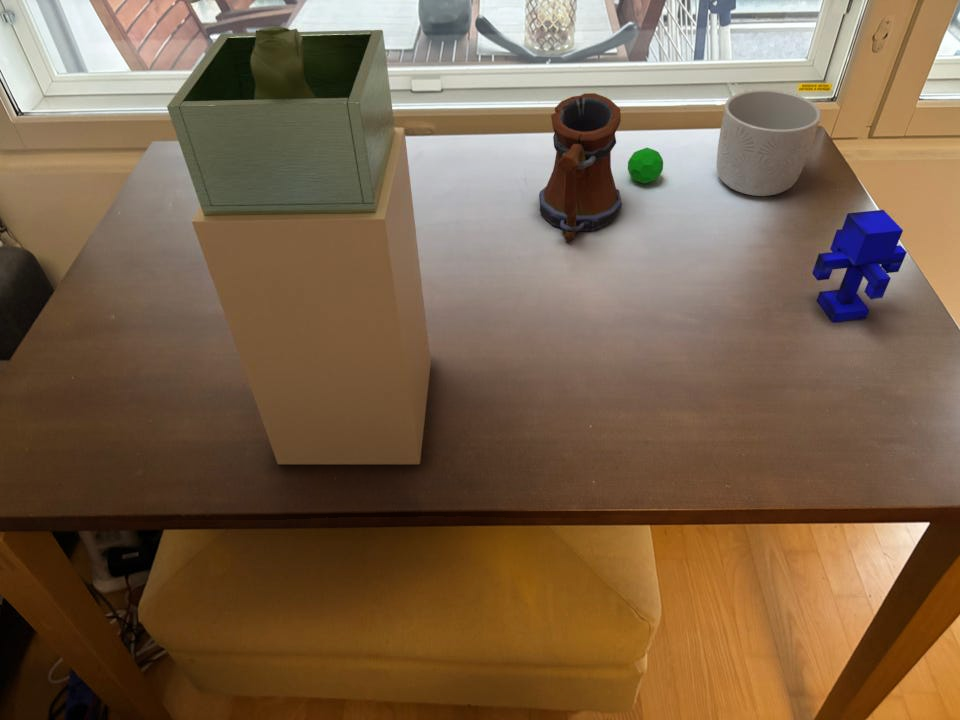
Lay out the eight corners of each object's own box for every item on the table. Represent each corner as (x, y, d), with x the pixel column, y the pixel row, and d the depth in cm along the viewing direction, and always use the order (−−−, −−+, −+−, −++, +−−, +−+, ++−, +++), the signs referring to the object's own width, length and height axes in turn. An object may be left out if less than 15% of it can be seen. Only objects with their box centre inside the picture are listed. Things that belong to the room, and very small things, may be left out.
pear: (270, 148, 60) (238, 17, 53) (337, 141, 60) (313, 11, 53) (266, 183, 56) (231, 47, 49) (338, 175, 56) (313, 40, 49)
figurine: (884, 304, 87) (923, 216, 79) (863, 340, 83) (901, 251, 75) (819, 281, 91) (850, 195, 82) (796, 314, 86) (826, 226, 78)
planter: (789, 160, 112) (809, 89, 104) (808, 205, 103) (831, 131, 95) (705, 159, 113) (718, 89, 105) (716, 203, 104) (732, 130, 96)
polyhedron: (666, 186, 107) (670, 156, 104) (634, 191, 107) (637, 161, 103) (652, 169, 111) (656, 140, 108) (621, 174, 110) (624, 144, 107)
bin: (277, 464, 73) (152, 111, 48) (305, 365, 83) (214, 30, 58) (419, 464, 72) (368, 107, 47) (430, 364, 82) (393, 25, 57)
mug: (605, 267, 94) (616, 159, 84) (517, 254, 97) (517, 148, 86) (626, 193, 107) (638, 91, 96) (547, 183, 109) (551, 83, 99)
